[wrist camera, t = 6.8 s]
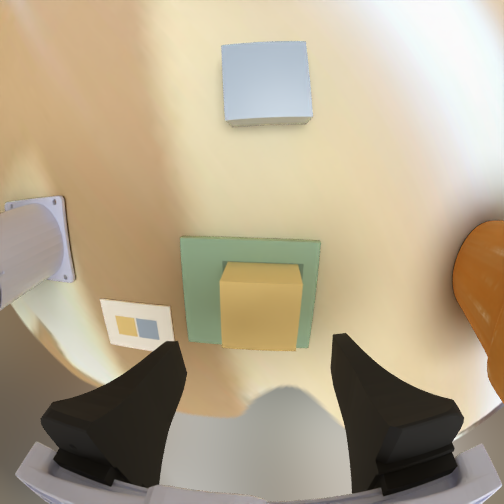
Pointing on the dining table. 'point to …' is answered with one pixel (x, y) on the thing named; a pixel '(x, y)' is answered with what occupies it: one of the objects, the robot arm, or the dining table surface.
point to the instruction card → (137, 324)
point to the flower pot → (484, 293)
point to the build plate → (240, 250)
